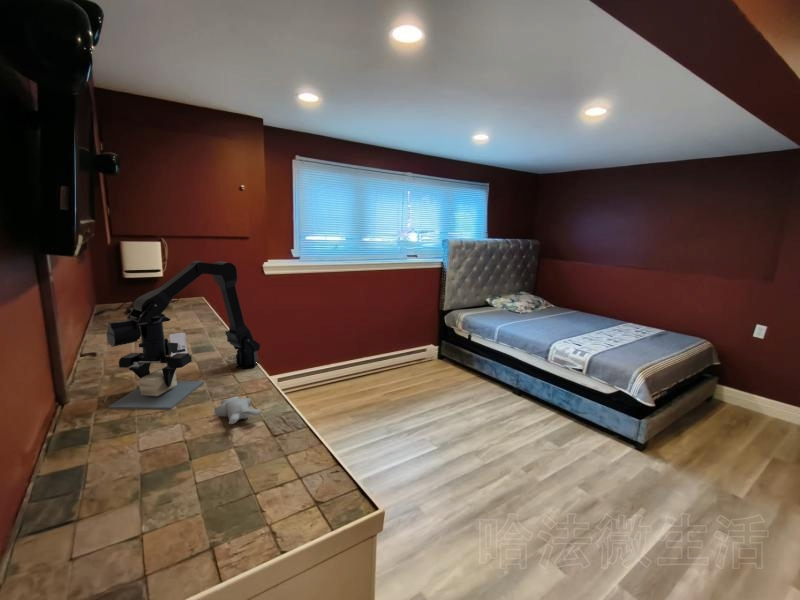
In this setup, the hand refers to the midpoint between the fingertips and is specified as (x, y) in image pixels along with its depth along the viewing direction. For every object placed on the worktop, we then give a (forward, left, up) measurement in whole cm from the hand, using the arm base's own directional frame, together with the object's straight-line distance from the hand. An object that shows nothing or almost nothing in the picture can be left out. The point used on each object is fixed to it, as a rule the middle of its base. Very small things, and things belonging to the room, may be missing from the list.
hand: (159, 386), depth 112 cm
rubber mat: (0, 0, -3) cm, 3 cm away
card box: (0, 0, -1) cm, 1 cm away
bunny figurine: (-30, +13, -3) cm, 32 cm away
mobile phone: (+16, -37, -3) cm, 40 cm away
